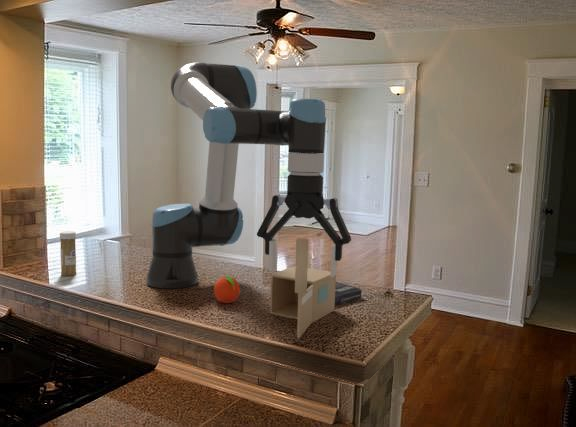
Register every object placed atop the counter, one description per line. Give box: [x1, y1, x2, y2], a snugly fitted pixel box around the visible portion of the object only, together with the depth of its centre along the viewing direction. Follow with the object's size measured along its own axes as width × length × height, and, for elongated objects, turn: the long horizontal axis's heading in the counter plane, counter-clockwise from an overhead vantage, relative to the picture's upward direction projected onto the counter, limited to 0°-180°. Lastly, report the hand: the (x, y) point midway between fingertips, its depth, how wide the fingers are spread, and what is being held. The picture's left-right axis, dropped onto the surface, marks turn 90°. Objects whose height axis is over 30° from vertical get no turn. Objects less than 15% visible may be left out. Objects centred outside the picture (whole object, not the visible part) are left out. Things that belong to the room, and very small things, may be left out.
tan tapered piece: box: [295, 237, 313, 339], centre depth 120 cm, size 12×3×22 cm, turn 163°
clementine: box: [213, 275, 241, 304], centre depth 141 cm, size 8×7×7 cm
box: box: [335, 281, 362, 306], centre depth 152 cm, size 14×4×20 cm
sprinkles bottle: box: [59, 230, 77, 277], centre depth 166 cm, size 5×5×13 cm
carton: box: [269, 265, 337, 324], centre depth 135 cm, size 12×12×10 cm
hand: (302, 272), depth 115 cm, fingers open, 13 cm apart
